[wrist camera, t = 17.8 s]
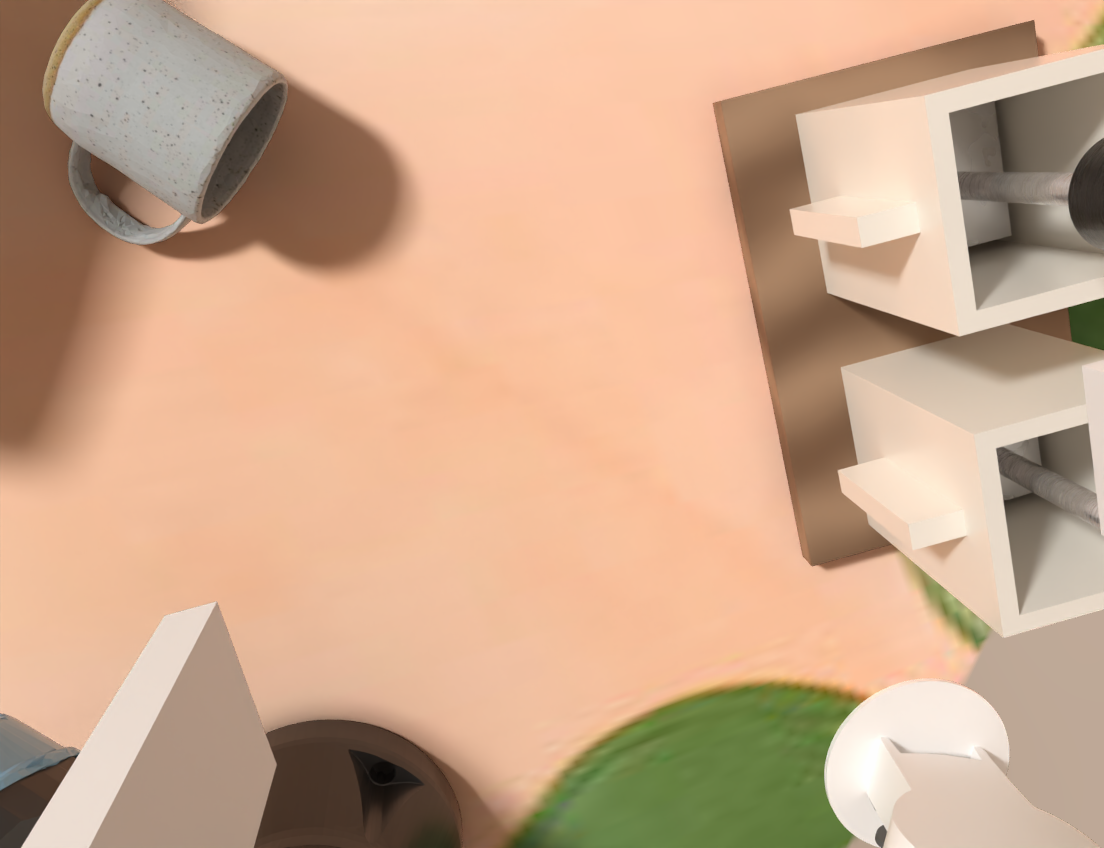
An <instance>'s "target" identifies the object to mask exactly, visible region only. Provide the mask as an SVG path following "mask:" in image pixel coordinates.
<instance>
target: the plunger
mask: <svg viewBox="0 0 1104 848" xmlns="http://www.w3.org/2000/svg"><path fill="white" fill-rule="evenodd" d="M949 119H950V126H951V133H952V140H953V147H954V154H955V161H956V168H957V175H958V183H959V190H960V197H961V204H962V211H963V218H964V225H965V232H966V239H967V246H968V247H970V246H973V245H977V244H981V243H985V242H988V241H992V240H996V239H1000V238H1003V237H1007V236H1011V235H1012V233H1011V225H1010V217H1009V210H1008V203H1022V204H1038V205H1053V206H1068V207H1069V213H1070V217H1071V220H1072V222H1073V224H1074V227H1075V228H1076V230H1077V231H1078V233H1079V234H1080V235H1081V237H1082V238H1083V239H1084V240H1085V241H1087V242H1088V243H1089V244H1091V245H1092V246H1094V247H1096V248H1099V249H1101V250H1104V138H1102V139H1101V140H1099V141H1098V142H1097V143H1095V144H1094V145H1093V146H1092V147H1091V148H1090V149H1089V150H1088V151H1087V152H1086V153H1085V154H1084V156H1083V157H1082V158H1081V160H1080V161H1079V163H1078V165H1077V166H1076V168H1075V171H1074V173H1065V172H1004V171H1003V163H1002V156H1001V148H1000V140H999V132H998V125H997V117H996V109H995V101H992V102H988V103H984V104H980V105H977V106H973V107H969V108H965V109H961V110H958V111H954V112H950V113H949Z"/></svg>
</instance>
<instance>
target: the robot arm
mask: <svg viewBox="0 0 1104 848" xmlns="http://www.w3.org/2000/svg"><path fill="white" fill-rule="evenodd" d="M1082 373H1083V381H1084V390H1085V399H1086V407H1087V416H1088V425H1089V433H1090V442H1091V451H1092V459H1093V468H1094V477H1095V485H1096V494H1097V503H1098V511H1099V520H1100V529H1101V535H1103V536H1104V360H1101V361H1097V362H1093V363H1090V364H1086V365H1082ZM0 848H463V846H462V822H461V816H460V810H459V807H458V803H457V800H456V798H455V795H454V793H453V791H452V788H451V786H450V785H449V783H448V781H447V779H446V778H445V776H444V775H443V773H442V772H441V771H440V769H439V768H438V767H437V766H436V765H435V763H434V762H433V761H432V760H431V759H430V758H429V757H428V756H427V755H425V754H424V753H423V752H422V751H421V750H419V749H418V748H417V747H416V746H414V745H413V744H411V743H410V742H408V741H407V740H405V739H403V738H401V737H399V736H398V735H395V734H393V733H391V732H389V731H386V730H384V729H381V728H378V727H375V726H372V725H368V724H364V723H359V722H353V721H344V720H316V721H307V722H302V723H297V724H292V725H288V726H285V727H282V728H279V729H276V730H274V731H271V732H269V733H267V734H265V731H264V728H263V726H262V723H261V720H260V717H259V715H258V712H257V709H256V707H255V704H254V701H253V698H252V696H251V693H250V690H249V687H248V685H247V682H246V679H245V676H244V674H243V671H242V668H241V666H240V663H239V660H238V657H237V655H236V652H235V649H234V646H233V644H232V641H231V638H230V635H229V633H228V630H227V627H226V625H225V622H224V619H223V616H222V614H221V611H220V608H219V605H218V603H217V602H213V603H209V604H206V605H202V606H198V607H195V608H191V609H187V610H184V611H180V612H176V613H173V614H169V615H165V616H164V618H163V619H162V621H161V623H160V624H159V626H158V627H157V629H156V631H155V632H154V634H153V636H152V637H151V639H150V640H149V642H148V644H147V645H146V647H145V648H144V650H143V652H142V653H141V655H140V657H139V658H138V660H137V661H136V663H135V665H134V666H133V668H132V669H131V671H130V673H129V674H128V676H127V677H126V679H125V681H124V682H123V684H122V686H121V687H120V689H119V690H118V692H117V694H116V695H115V697H114V698H113V700H112V702H111V703H110V705H109V707H108V708H107V710H106V711H105V713H104V715H103V716H102V718H101V719H100V721H99V723H98V724H97V726H96V728H95V729H94V731H93V732H92V734H91V736H90V737H89V739H88V740H87V742H86V744H85V745H84V747H83V749H82V750H81V751H80V750H78V749H76V748H74V747H63V746H61V745H60V744H58V743H56V742H54V741H53V740H51V739H49V738H48V737H46V736H44V735H43V734H41V733H39V732H38V731H36V730H34V729H33V728H31V727H29V726H27V725H26V724H24V723H22V722H21V721H19V720H17V719H15V718H13V717H11V716H8V715H5V714H1V713H0Z"/></svg>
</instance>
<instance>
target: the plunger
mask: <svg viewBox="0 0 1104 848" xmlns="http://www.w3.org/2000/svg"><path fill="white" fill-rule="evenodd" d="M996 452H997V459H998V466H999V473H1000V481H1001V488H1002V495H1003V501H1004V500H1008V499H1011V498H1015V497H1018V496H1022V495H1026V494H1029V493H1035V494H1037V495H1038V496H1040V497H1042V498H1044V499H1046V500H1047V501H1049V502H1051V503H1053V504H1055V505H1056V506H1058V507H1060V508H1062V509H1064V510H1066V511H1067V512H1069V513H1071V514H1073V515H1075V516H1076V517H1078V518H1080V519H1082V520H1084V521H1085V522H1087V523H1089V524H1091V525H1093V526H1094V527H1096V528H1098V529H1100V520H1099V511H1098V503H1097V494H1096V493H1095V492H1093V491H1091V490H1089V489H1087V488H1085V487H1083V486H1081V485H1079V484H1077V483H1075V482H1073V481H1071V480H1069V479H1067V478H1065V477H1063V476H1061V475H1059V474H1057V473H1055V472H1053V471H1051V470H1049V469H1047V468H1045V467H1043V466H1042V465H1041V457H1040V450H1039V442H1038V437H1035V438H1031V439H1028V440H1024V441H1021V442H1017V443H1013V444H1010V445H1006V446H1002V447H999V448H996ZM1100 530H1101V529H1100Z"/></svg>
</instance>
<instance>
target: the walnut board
mask: <svg viewBox="0 0 1104 848" xmlns="http://www.w3.org/2000/svg"><path fill="white" fill-rule="evenodd" d="M1033 57H1038V48H1037V40H1036V31H1035V23H1034V20H1032V21H1028V22H1024V23H1020V24H1016V25H1012V26H1009V27H1005V28H1001V29H997V30H993V31H989V32H985V33H982V34H978V35H974V36H970V37H966V38H962V39H958V40H955V41H951V42H947V43H943V44H939V45H935V46H931V47H927V48H924V49H920V50H916V51H912V52H908V53H904V54H900V55H897V56H893V57H889V58H885V59H881V60H877V61H873V62H870V63H866V64H862V65H858V66H854V67H850V68H846V69H843V70H839V71H835V72H831V73H827V74H823V75H819V76H816V77H812V78H808V79H804V80H800V81H796V82H792V83H789V84H785V85H781V86H777V87H773V88H769V89H765V90H761V91H758V92H754V93H750V94H746V95H742V96H738V97H734V98H731V99H727V100H723V101H719V102H715V103H713V107H714V112H715V117H716V122H717V127H718V132H719V137H720V142H721V147H722V152H723V157H724V162H725V167H726V172H727V177H728V182H729V187H730V192H731V197H732V202H733V207H734V212H735V217H736V222H737V227H738V232H739V238H740V243H741V248H742V253H743V258H744V263H745V268H746V273H747V278H748V283H749V288H750V293H751V298H752V303H753V308H754V313H755V318H756V323H757V328H758V333H759V338H760V343H761V348H762V353H763V358H764V363H765V368H766V373H767V378H768V383H769V388H770V394H771V399H772V404H773V409H774V414H775V419H776V424H777V429H778V434H779V439H780V444H781V449H782V454H783V459H784V464H785V469H786V474H787V479H788V484H789V489H790V494H791V499H792V504H793V509H794V514H795V519H796V524H797V529H798V534H799V539H800V544H801V550H802V555H803V557H804V558H805V559H806V560H807V561H808V562H809V564H810V565H811V566H815V565H819V564H822V563H826V562H830V561H833V560H837V559H840V558H844V557H848V556H851V555H855V554H858V553H862V552H866V551H869V550H873V549H876V548H880V547H884V546H887V545H891V543H890V542H889V541H888V540H887V539H885V538H884V537H883V536H882V535H881V534H879V533H878V532H877V531H876V530H875V529H874V528H872V527H871V526H870V525H869V523H868V518H867V513H866V512H865V511H864V510H862V509H861V508H860V507H859V506H858V505H856V504H855V503H854V502H853V501H851V500H850V499H849V498H848V497H847V496H845V495H844V494H843V493H842V491H841V485H840V480H839V475H838V470H840V469H844V468H848V467H851V466H855V465H858V462H857V456H856V450H855V445H854V439H853V434H852V428H851V423H850V417H849V411H848V406H847V400H846V395H845V389H844V383H843V378H842V372H841V367H844V366H847V365H851V364H855V363H858V362H862V361H866V360H869V359H873V358H877V357H881V356H884V355H888V354H892V353H895V352H899V351H903V350H906V349H910V348H914V347H918V346H921V345H925V344H929V343H932V342H936V341H940V340H943V339H947V338H951V337H955V336H956V335H953V334H950V333H947V332H944V331H941V330H938V329H935V328H932V327H929V326H926V325H923V324H920V323H917V322H914V321H911V320H908V319H905V318H902V317H899V316H896V315H893V314H890V313H887V312H884V311H881V310H877V309H874V308H871V307H868V306H865V305H862V304H859V303H856V302H853V301H850V300H847V299H844V298H841V297H838V296H835V295H832V294H829V293H827V288H826V283H825V277H824V272H823V266H822V260H821V255H820V249H819V244H818V239H813V238H808V237H802V236H797V235H794V231H793V225H792V220H791V215H790V209H792V208H796V207H800V206H804V205H808V204H811V199H810V193H809V188H808V182H807V177H806V171H805V165H804V160H803V154H802V149H801V143H800V137H799V132H798V126H797V121H796V114H800V113H804V112H808V111H811V110H815V109H819V108H823V107H827V106H831V105H835V104H838V103H842V102H846V101H850V100H854V99H858V98H861V97H865V96H869V95H873V94H877V93H881V92H884V91H888V90H892V89H896V88H900V87H904V86H908V85H911V84H915V83H919V82H923V81H927V80H931V79H934V78H938V77H942V76H946V75H950V74H954V73H957V72H961V71H965V70H969V69H974V68H979V67H985V66H990V65H995V64H1001V63H1006V62H1012V61H1017V60H1023V59H1028V58H1033ZM1008 324H1010V325H1013V326H1017V327H1021V328H1024V329H1028V330H1031V331H1035V332H1038V333H1042V334H1046V335H1049V336H1053V337H1056V338H1060V339H1064V340H1067V341H1071V342H1072V339H1071V330H1070V322H1069V313H1068V307H1067V308H1063V309H1059V310H1056V311H1052V312H1048V313H1045V314H1041V315H1037V316H1033V317H1030V318H1026V319H1022V320H1019V321H1015V322H1011V323H1008Z"/></svg>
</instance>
